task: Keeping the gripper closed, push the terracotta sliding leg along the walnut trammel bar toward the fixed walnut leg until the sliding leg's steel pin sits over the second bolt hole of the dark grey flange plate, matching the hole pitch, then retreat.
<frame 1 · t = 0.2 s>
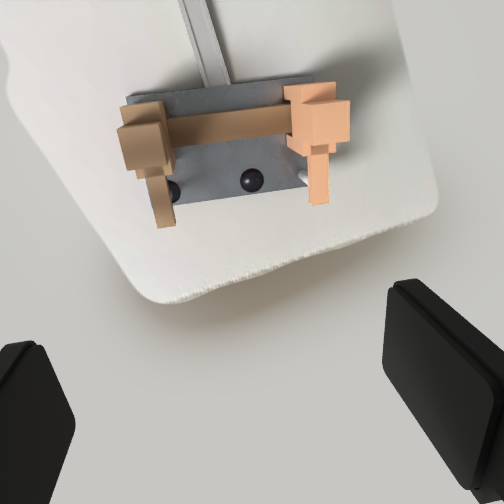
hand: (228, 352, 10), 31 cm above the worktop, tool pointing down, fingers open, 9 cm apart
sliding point: (314, 145, 33), point 6 cm above the worktop, slide at 0.0 cm
flange plate: (227, 143, 37), on the worktop
trammel bar: (225, 123, 36), resting on flange plate
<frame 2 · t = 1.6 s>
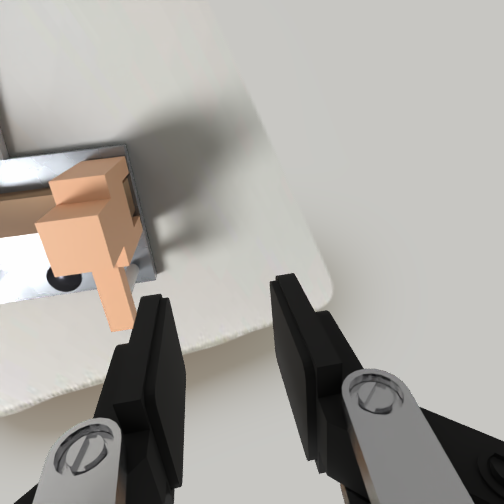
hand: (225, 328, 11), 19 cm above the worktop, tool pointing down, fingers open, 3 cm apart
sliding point: (108, 251, 23), point 6 cm above the worktop, slide at 0.0 cm
flange plate: (25, 230, 28), on the worktop
trammel bar: (15, 205, 27), resting on flange plate
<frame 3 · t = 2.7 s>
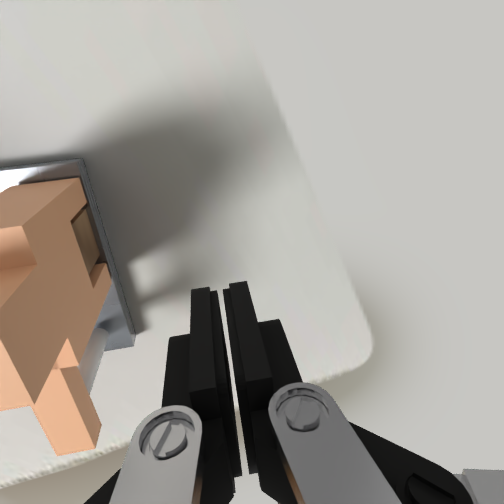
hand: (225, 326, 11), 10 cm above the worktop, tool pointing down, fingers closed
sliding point: (48, 334, 14), point 6 cm above the worktop, slide at 0.0 cm
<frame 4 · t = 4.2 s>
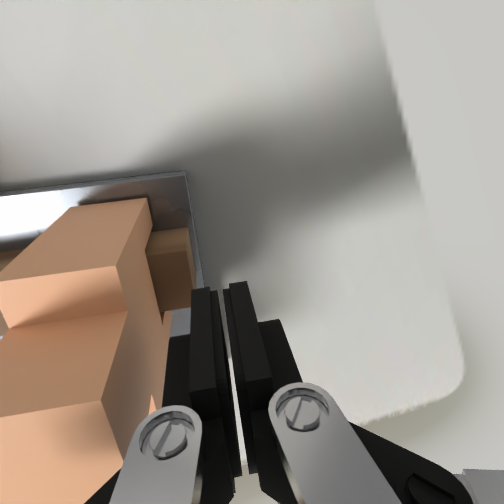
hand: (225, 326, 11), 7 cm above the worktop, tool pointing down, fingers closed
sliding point: (118, 383, 12), point 6 cm above the worktop, slide at 1.7 cm, touching gripper
flange plate: (15, 307, 17), on the worktop
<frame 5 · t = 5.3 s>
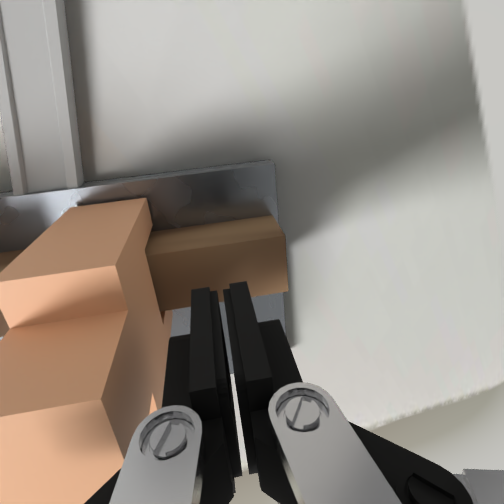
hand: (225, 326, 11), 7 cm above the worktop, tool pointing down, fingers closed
adjustable wrench: (22, 31, 13), on the worktop, touching flange plate, trammel bar
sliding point: (118, 382, 12), point 6 cm above the worktop, slide at 5.4 cm, touching gripper
flange plate: (97, 295, 17), on the worktop
trammel bar: (86, 259, 16), resting on flange plate
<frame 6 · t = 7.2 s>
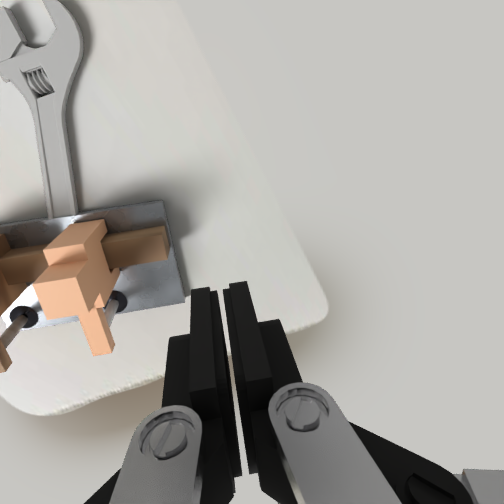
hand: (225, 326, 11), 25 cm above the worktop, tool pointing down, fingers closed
adjustable wrench: (52, 160, 32), on the worktop, touching flange plate, trammel bar
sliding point: (89, 294, 30), point 6 cm above the worktop, slide at 5.4 cm
flange plate: (85, 266, 35), on the worktop
trammel bar: (78, 248, 35), resting on flange plate
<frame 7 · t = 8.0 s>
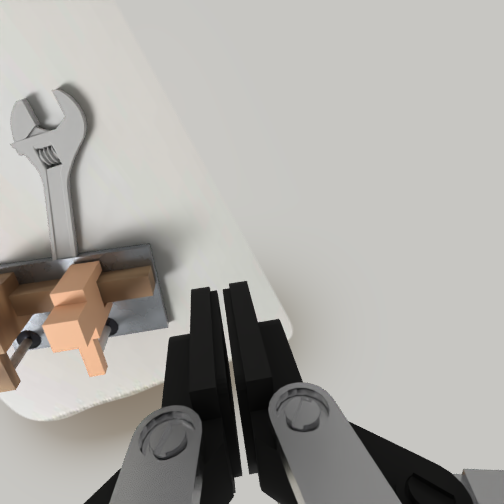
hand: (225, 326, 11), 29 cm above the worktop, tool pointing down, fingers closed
adjustable wrench: (57, 214, 38), on the worktop, touching flange plate, trammel bar
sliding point: (87, 326, 36), point 6 cm above the worktop, slide at 5.4 cm
flange plate: (82, 297, 41), on the worktop
trammel bar: (77, 282, 41), resting on flange plate
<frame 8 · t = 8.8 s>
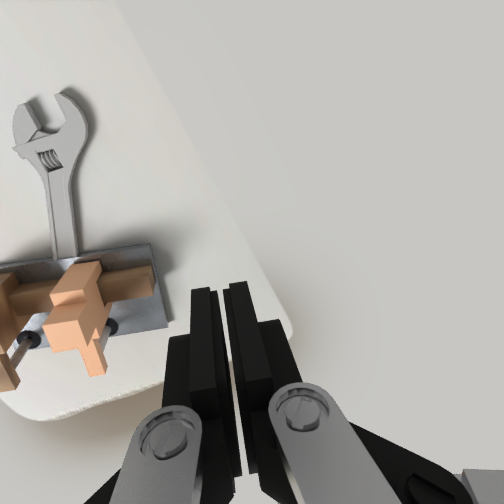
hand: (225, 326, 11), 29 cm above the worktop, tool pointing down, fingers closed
adjustable wrench: (58, 217, 38), on the worktop, touching flange plate, trammel bar
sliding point: (87, 326, 36), point 6 cm above the worktop, slide at 5.4 cm
flange plate: (82, 297, 41), on the worktop
trammel bar: (77, 282, 41), resting on flange plate
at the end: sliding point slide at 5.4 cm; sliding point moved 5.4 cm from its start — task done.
